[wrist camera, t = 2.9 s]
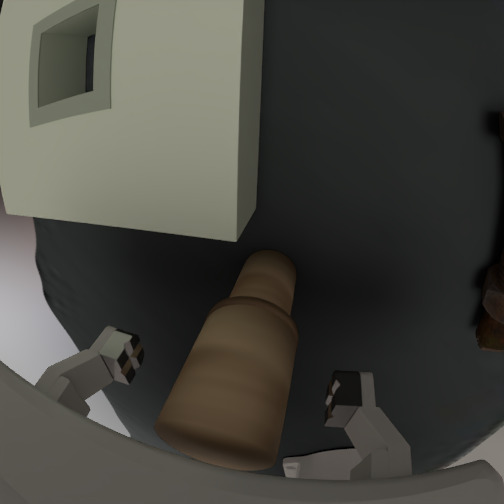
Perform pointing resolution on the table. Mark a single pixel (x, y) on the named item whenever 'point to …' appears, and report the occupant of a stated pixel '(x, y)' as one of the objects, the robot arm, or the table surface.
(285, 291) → the peg
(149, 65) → the board
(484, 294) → the bolt
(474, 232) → the table surface
